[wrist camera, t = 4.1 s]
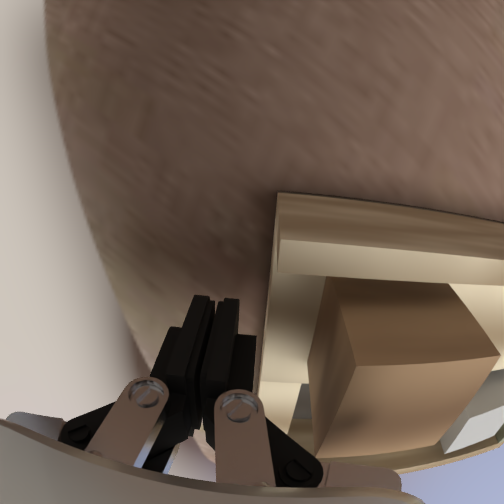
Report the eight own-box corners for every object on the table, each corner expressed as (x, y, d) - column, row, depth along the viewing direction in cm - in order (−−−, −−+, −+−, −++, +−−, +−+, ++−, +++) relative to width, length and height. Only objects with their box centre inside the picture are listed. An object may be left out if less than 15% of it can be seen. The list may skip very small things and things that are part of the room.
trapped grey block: (445, 366, 16) (469, 418, 12) (494, 353, 16) (521, 397, 12) (427, 406, 18) (444, 454, 14) (474, 393, 18) (493, 435, 14)
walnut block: (328, 266, 11) (356, 365, 7) (440, 274, 11) (501, 355, 7) (306, 362, 14) (314, 458, 9) (404, 362, 13) (434, 444, 9)
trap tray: (277, 190, 13) (280, 239, 8) (567, 237, 12) (612, 273, 8) (253, 420, 20) (249, 481, 15) (480, 404, 19) (499, 447, 15)
